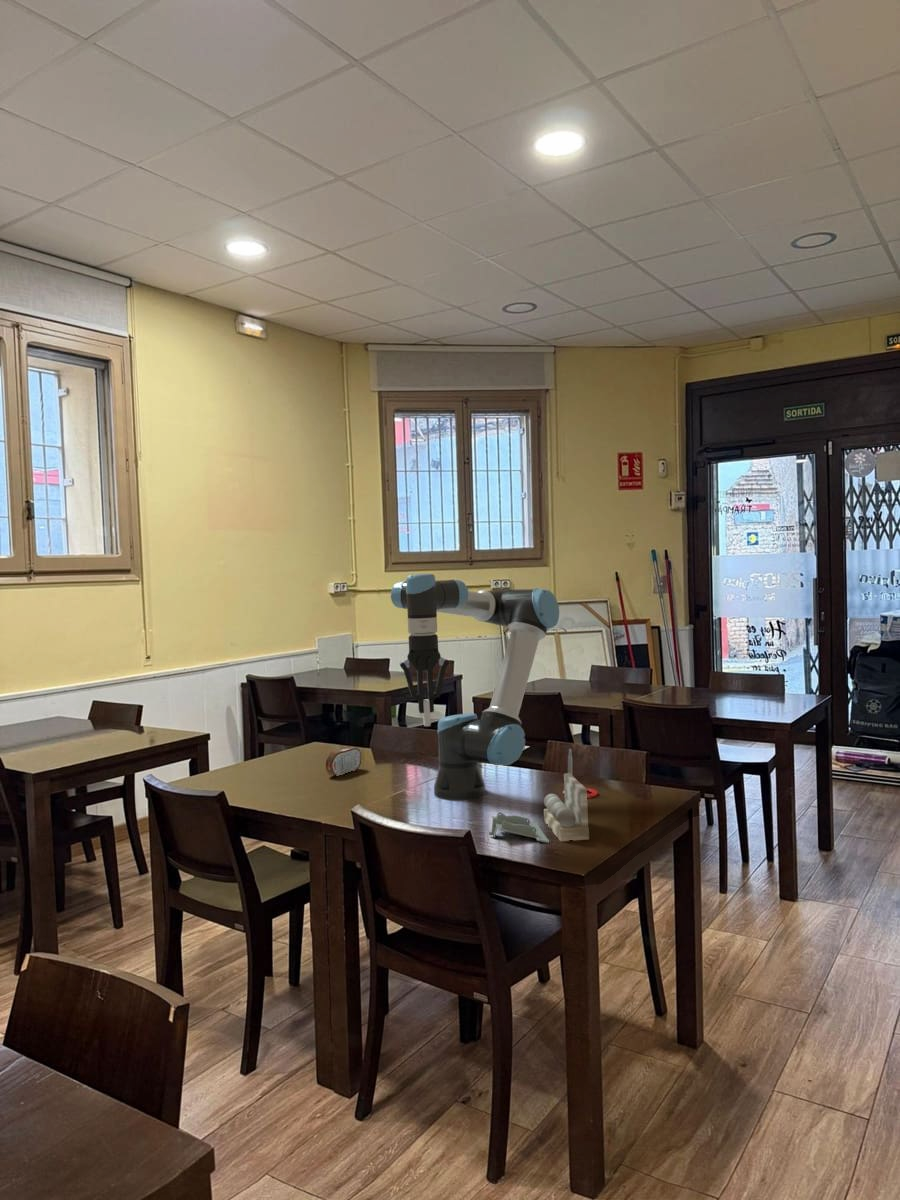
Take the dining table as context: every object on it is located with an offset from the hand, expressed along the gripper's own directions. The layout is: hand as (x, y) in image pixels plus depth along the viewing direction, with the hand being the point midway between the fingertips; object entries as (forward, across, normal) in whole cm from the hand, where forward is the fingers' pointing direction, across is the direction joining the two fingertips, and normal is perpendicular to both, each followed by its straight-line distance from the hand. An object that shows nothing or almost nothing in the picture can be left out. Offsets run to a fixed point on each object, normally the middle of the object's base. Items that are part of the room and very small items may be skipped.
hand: (427, 725), depth 212 cm
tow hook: (+27, +46, +17) cm, 56 cm away
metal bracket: (+27, +20, -14) cm, 36 cm away
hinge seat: (+26, +32, -13) cm, 43 cm away
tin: (+27, -21, +62) cm, 71 cm away
